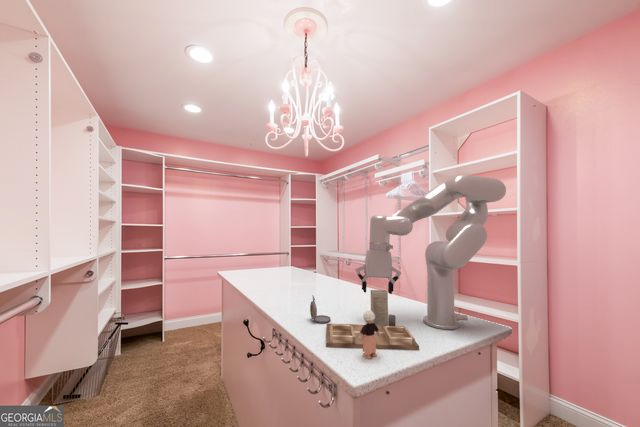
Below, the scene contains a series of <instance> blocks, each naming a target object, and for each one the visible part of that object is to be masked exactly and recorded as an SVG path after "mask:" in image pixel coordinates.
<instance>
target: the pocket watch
mask: <svg viewBox="0 0 640 427" xmlns="http://www.w3.org/2000/svg"><path fill="white" fill-rule="evenodd" d="M315 301H316V299H315V296H314V295H313V294H312V301H311V302H310V304H309V306H310V308H309V312H310V317H311V319H312V320H313V321H314V322H316V323H320V324H323V323H326V324H327V323H329V322H331V317H330V316H328V315H323V314H320V315H318V309H317V304H316V302H315Z"/></svg>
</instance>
